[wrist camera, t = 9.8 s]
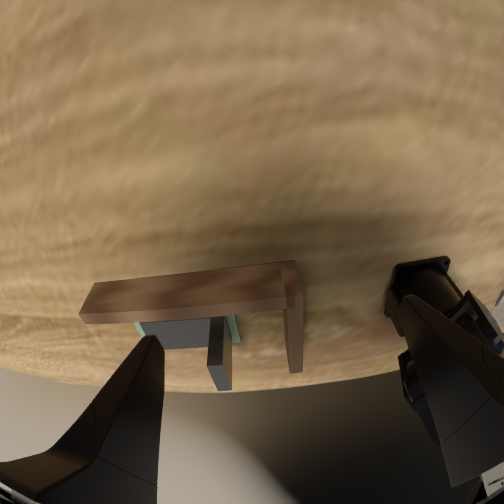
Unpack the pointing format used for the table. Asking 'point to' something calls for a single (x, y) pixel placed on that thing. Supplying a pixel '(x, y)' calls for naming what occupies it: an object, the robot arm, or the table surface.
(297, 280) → the corner walls
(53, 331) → the table surface
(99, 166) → the table surface
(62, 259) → the table surface
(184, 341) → the angle bracket
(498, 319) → the graphics card
